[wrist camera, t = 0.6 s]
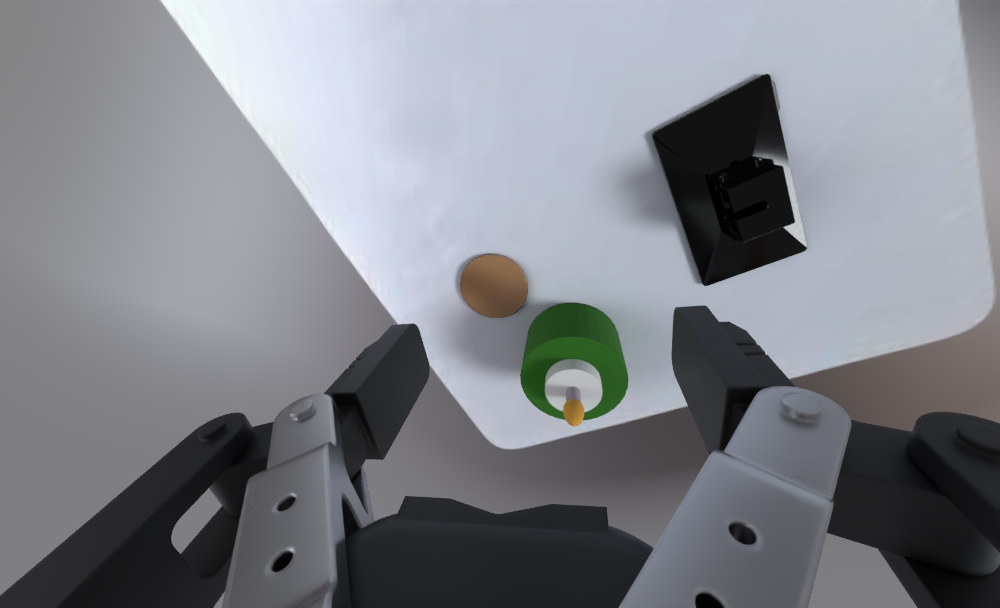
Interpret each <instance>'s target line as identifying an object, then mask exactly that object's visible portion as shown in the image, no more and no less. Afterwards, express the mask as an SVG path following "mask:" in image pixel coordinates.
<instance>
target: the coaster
mask: <svg viewBox="0 0 1000 608" xmlns="http://www.w3.org/2000/svg"><path fill="white" fill-rule="evenodd" d="M460 287H461V292H462V295H463V297H464V299H465V301H466V302H467V304H468V305H469V306H470V307H471V308H472V309H473V310H474V311H476V312H477V313H479V314H481V315H484V316H487V317H491V318H502V317H507V316H509V315H512V314H514V313H515V312H517V311H518V310H519V309H520V308H521V307H522V306H523V304H524V302H525V300H526V298H527V294H528V282H527V278H526V276H525V274H524V272H523V270H522V269H521V268H520V266H519V265H518V264H517V263H515V262H514V261H513V260H511V259H509V258H507V257H505V256H502V255H497V254H487V255H482V256H480V257H477V258H475V259H474V260H472V261H471V262H470V263H469V264H468V265H467V266H466V268H465V269H464V271H463V273H462V276H461V281H460Z"/></svg>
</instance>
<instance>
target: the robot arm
mask: <svg viewBox="0 0 1000 608" xmlns="http://www.w3.org/2000/svg"><path fill="white" fill-rule="evenodd" d="M672 365H673V370H674V374H675V377H676V379H677V381H678V384H679V386H680V388H681V390H682V393H683V395H684V397H685V400H686V402H687V404H688V407H689V409H690V411H691V413H692V416H693V418H694V420H695V423H696V425H697V427H698V429H699V432H700V434H701V436H702V439H703V441H704V443H705V446H706V448H707V450H708V453H709V455H710V456H709V458H708V459H707V461H706V463H705V464H704V466H703V468H702V469H701V471H700V473H699V474H698V476H697V478H696V479H695V481H694V483H693V484H692V486H691V488H690V489H689V491H688V493H687V494H686V496H685V498H684V500H683V501H682V503H681V504H680V506H679V508H678V509H677V511H676V513H675V514H674V516H673V518H672V519H671V521H670V523H669V524H668V526H667V528H666V530H665V531H664V533H663V534H662V536H661V538H660V540H659V541H658V543H657V545H656V546H655V548H654V549H653V548H652V547H651V546H650V545H648V544H646V543H645V542H643V541H641V540H640V539H638V538H636V537H635V536H633V535H631V534H628V533H626V532H624V531H622V530H619V529H617V528H614V527H611V526H608V518H607V508H606V507H595V506H577V505H558V504H550V505H545V506H540V507H535V508H530V509H525V510H519V511H514V512H509V513H504V514H494V513H490V512H487V511H484V510H482V509H479V508H476V507H473V506H470V505H467V504H464V503H461V502H459V501H456V500H453V499H449V498H430V497H412V496H405V498H404V500H403V503H402V505H401V508H400V510H399V512H398V514H394V515H391V516H388V517H385V518H382V519H379V520H377V521H375V522H374V517H373V512H372V506H371V501H370V496H369V490H368V485H367V479H366V474H365V471H364V469H363V467H362V465H363V463H364V461H365V460H366V459H381V460H383V459H384V458H385V456H386V454H387V452H388V451H389V449H390V447H391V445H392V443H393V442H394V440H395V438H396V436H397V434H398V433H399V431H400V429H401V427H402V425H403V423H404V422H405V420H406V418H407V417H408V415H409V413H410V411H411V409H412V407H413V405H414V404H415V402H416V400H417V398H418V397H419V395H420V393H421V391H422V389H423V388H424V386H425V384H426V382H427V380H428V377H429V362H428V358H427V355H426V352H425V348H424V345H423V341H422V338H421V335H420V331H419V329H418V327H417V325H415V324H400V325H392V326H391V327H390V328H389V329H388V330H387V331H386V332H385V333H384V334H383V335H382V336H381V338H380V339H379V340H378V341H376V342H375V343H373V344H372V345H370V346H369V347H367V348H365V349H364V351H363V352H362V353H361V354H360V355H359V356H358V357H357V358H356V360H355V361H353V362H352V364H351V365H350V366H349V369H346V370H345V371H344V372H343V373H342V374H341V376H340V377H339V378H338V379H337V380H336V381H335V382H334V383H333V384H332V385H331V386H330V387H329V389H328V390H327V391H326V392H325V393H324V394H315V395H310V396H307V397H304V398H302V399H299V400H297V401H295V402H293V403H292V404H290V405H289V406H287V407H286V408H285V409H284V410H282V411H281V412H280V413H279V414H278V416H277V417H276V419H275V420H274V422H271V423H267V424H263V425H259V426H255V427H252V426H251V425H250V423H249V421H248V420H247V418H246V416H245V415H244V414H242V413H230V414H226V415H223V416H220V417H218V418H215V419H213V420H211V421H209V422H207V423H205V424H204V425H202V426H201V427H199V428H198V429H196V430H195V431H194V432H192V433H191V434H190V435H189V436H188V437H186V438H185V439H184V440H183V441H182V442H180V443H179V444H178V445H177V446H176V447H175V448H173V449H172V450H171V451H170V452H169V453H168V454H166V455H165V456H164V457H163V458H162V459H161V460H159V461H158V462H157V463H156V464H155V465H153V466H152V467H151V468H150V469H149V470H148V471H146V472H145V473H144V474H143V475H142V476H141V477H139V478H138V479H137V480H136V481H135V482H133V483H132V484H131V485H130V486H129V487H127V488H126V489H125V490H124V491H123V492H122V493H120V494H119V495H118V496H117V497H116V498H115V499H113V500H112V501H111V502H110V503H109V504H108V505H106V506H105V507H104V508H103V509H102V510H100V511H99V512H98V513H97V514H96V515H95V516H93V517H92V518H91V519H90V520H89V521H87V522H86V523H85V524H84V525H83V526H82V527H81V528H79V529H78V530H77V531H76V532H75V533H73V534H72V535H71V536H70V537H69V538H68V539H66V540H65V541H64V542H63V543H62V544H61V545H59V546H58V547H57V548H56V549H55V550H53V551H52V552H51V553H50V554H49V555H48V556H47V557H45V558H44V559H43V560H42V561H40V562H39V563H38V564H37V565H36V566H35V567H33V568H32V569H31V570H30V571H29V572H28V573H26V574H25V575H24V576H23V577H22V578H20V579H19V580H18V581H17V582H16V583H15V584H14V585H12V586H11V587H10V588H9V589H8V590H6V591H5V592H4V593H3V594H2V595H1V596H0V608H213V607H214V606H215V604H216V603H217V601H218V600H219V598H220V597H221V596H222V594H223V593H224V591H225V594H224V599H223V605H222V608H808V605H809V601H810V597H811V593H812V589H813V585H814V581H815V577H816V573H817V569H818V565H819V561H820V557H821V553H822V549H823V545H824V542H825V538H826V534H827V533H830V534H833V535H836V536H839V537H842V538H846V539H849V540H852V541H855V542H859V543H862V544H865V545H868V546H872V547H875V548H878V549H879V551H880V553H881V554H882V556H883V557H884V558H885V560H886V561H887V563H888V564H889V566H890V567H891V569H892V570H893V572H894V573H895V575H896V576H897V578H898V579H899V581H900V582H901V584H902V585H903V587H904V588H905V590H906V591H907V593H908V594H909V595H910V597H911V598H912V600H913V601H914V603H915V604H916V606H917V607H918V608H1000V424H999V423H996V422H993V421H990V420H987V419H983V418H979V417H975V416H971V415H967V414H960V413H952V412H933V413H928V414H925V415H922V416H921V417H920V418H918V420H917V421H916V424H915V426H914V428H913V431H912V432H910V431H904V430H899V429H893V428H888V427H882V426H877V425H871V424H866V423H861V422H857V421H853V420H850V417H849V416H848V414H847V413H846V412H845V411H844V409H842V407H840V406H839V405H838V404H836V403H835V402H833V401H832V400H830V399H828V398H826V397H824V396H822V395H820V394H817V393H815V392H812V391H809V390H805V389H802V388H796V387H795V386H794V385H793V383H792V382H791V381H790V380H789V379H788V378H787V377H786V376H785V374H784V373H783V372H782V371H781V370H780V369H779V368H778V366H777V365H776V364H775V363H774V362H773V361H772V360H771V359H770V357H769V356H768V355H765V352H764V351H763V349H762V348H761V347H760V346H759V345H757V344H756V342H755V340H754V339H753V338H752V337H751V336H750V335H749V334H748V332H747V331H745V330H743V329H742V328H740V327H738V326H736V325H734V324H732V323H730V322H719V321H718V320H717V319H716V318H715V316H714V315H713V314H712V312H711V311H710V310H709V309H708V307H707V306H690V307H676V308H675V310H674V317H673V337H672ZM208 488H210V490H211V491H212V492H213V494H214V495H215V496H216V498H217V499H218V501H219V502H220V503H221V504H222V507H221V508H220V509H219V510H218V512H217V513H216V514H215V515H214V516H213V518H211V520H210V521H209V522H208V523H207V524H206V525H205V527H204V528H203V529H202V530H201V531H200V532H199V534H198V535H197V536H196V537H195V538H194V539H193V540H192V542H191V543H190V544H189V545H188V546H187V547H186V549H185V550H184V551H183V552H182V553H181V554H180V553H179V552H178V551H177V550H176V549H175V548H174V546H173V545H172V542H171V534H172V531H173V528H174V526H175V524H176V523H177V521H178V520H179V519H180V518H181V517H182V515H183V514H184V513H185V512H186V511H187V510H188V509H189V508H190V507H191V506H192V505H193V504H194V503H195V502H196V501H197V500H198V499H199V497H200V496H201V495H202V494H203V493H204V492H205V491H206V490H207V489H208Z"/></svg>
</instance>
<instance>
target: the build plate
mask: <svg viewBox="0 0 1000 608" xmlns="http://www.w3.org/2000/svg"><path fill="white" fill-rule="evenodd" d="M779 109H780V105H779V100H778V95H777V91H776V86H775V82H774V81H772V80H771V78H770V75H768V74H765V75H762V76H760V77H758V78H756V79H754V80H752V81H750V82H748V83H747V84H745V85H743V86H741V87H739V88H737V89H735V90H733V91H731V92H729V93H727V94H726V95H724V96H722V97H720V98H718V99H716V100H714V101H712V102H710V103H708V104H706V105H704V106H703V107H701V108H699V109H697V110H695V111H693V112H691V113H689V114H687V115H685V116H683V117H682V118H680V119H678V120H676V121H674V122H672V123H670V124H668V125H666V126H664V127H662V128H660V129H659V130H657V131H655V132H653V134H652V139H653V142H654V145H655V148H656V150H657V153H658V156H659V159H660V162H661V165H662V168H663V171H664V174H665V177H666V180H667V183H668V186H669V189H670V192H671V194H672V197H673V200H674V203H675V206H676V209H677V212H678V215H679V218H680V221H681V224H682V227H683V230H684V233H685V235H686V238H687V241H688V244H689V247H690V250H691V253H692V256H693V259H694V262H695V265H696V268H697V271H698V274H699V277H700V279H701V282H702V284H703V285H704V286H708V285H711V284H713V283H716V282H719V281H722V280H725V279H727V278H730V277H733V276H736V275H739V274H742V273H744V272H747V271H750V270H753V269H756V268H758V267H761V266H764V265H767V264H770V263H773V262H775V261H778V260H781V259H784V258H787V257H789V256H792V255H795V254H798V253H801V252H803V251H805V250H806V249H807V245H806V241H805V236H804V231H803V227H802V222H801V217H800V213H799V208H798V203H797V199H796V194H795V190H794V185H793V180H792V176H791V171H790V166H789V162H788V157H787V152H786V148H785V143H784V138H783V134H782V129H781V124H780V120H779V115H778V111H779Z"/></svg>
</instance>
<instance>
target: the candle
mask: <svg viewBox="0 0 1000 608" xmlns="http://www.w3.org/2000/svg"><path fill="white" fill-rule="evenodd" d="M520 376H521V385H522V388H523V391H524V393H525V394H526V396H527V398H528V399H529V400H530V401H531V403H532V404H533V405H534V406H536V407H537V408H538V409H539V410H541V411H543V412H544V413H546V414H548V415H551V416H553V417H556V418H559V419H564V420H566V421H567V422H568V423H569V424H570V425H571V426H578V425H579V424H580V423H581V422H582V420H589V419H593V418H597V417H599V416H602V415H604V414H606V413H608V412H609V411H611V410H613V409H614V408H615V407H616V406H617V405H618V404H619V403H620V402H621V400H622V399H623V397H624V396H625V393H626V390H627V388H628V374H627V369H626V365H625V361H624V357H623V353H622V348H621V344H620V340H619V336H618V332H617V330H616V328H615V325H614V324H613V322H612V321H611V320H610V318H609V317H607V316H606V315H605V314H604V313H603V312H601V311H600V310H598V309H596V308H594V307H591V306H589V305H585V304H580V303H565V304H559V305H556V306H553V307H550V308H548V309H547V310H545V311H543V312H542V313H541V314H540V315H539V316H537V317H536V319H535V320H534V321H533V323H532V324H531V326H530V329H529V331H528V336H527V341H526V347H525V353H524V358H523V364H522V369H521V375H520Z"/></svg>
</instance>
